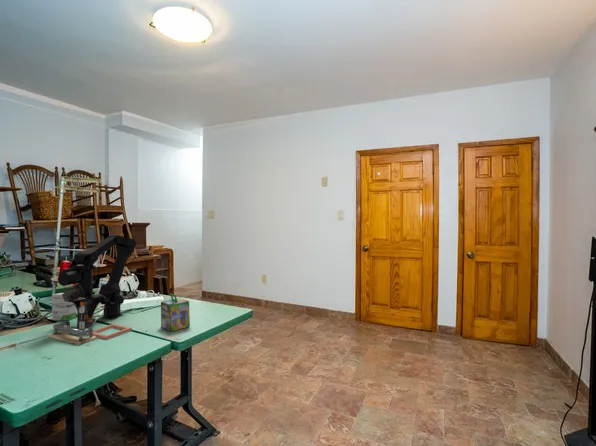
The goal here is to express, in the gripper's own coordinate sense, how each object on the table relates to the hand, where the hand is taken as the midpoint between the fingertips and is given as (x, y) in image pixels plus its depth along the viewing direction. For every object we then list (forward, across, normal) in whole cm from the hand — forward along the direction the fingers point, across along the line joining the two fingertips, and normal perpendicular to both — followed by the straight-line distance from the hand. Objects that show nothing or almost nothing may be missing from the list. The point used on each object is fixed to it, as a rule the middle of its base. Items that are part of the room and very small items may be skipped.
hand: (85, 316), depth 144 cm
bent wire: (+4, +8, -9) cm, 13 cm away
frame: (+4, +16, 0) cm, 17 cm away
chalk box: (+5, +35, +17) cm, 39 cm away
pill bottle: (+5, 0, 0) cm, 5 cm away
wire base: (+4, +8, -9) cm, 13 cm away
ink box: (+5, -20, +3) cm, 21 cm away
